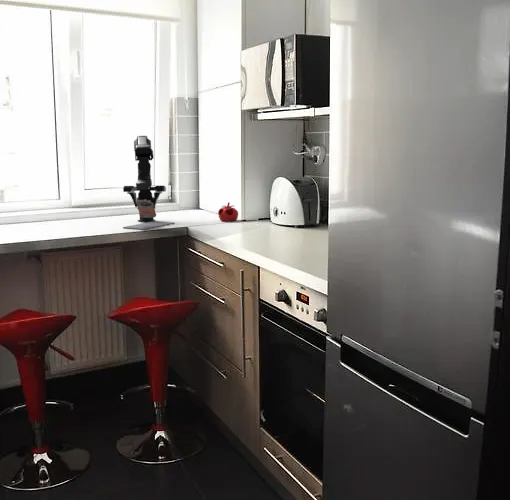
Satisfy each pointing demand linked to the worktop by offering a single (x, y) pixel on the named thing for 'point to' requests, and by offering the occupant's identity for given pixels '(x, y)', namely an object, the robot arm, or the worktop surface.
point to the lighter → (146, 208)
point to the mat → (148, 225)
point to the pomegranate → (228, 213)
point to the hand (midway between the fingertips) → (145, 207)
